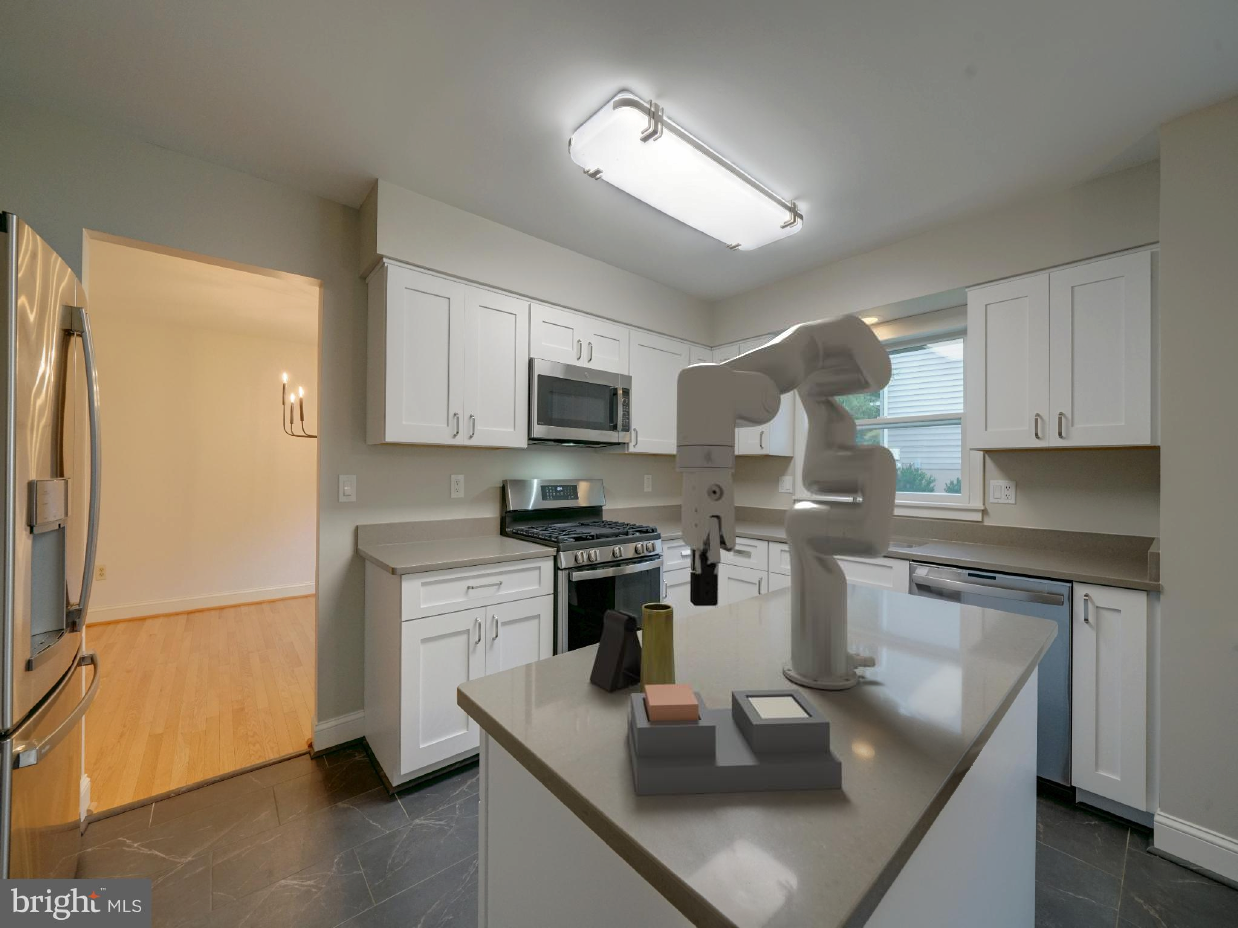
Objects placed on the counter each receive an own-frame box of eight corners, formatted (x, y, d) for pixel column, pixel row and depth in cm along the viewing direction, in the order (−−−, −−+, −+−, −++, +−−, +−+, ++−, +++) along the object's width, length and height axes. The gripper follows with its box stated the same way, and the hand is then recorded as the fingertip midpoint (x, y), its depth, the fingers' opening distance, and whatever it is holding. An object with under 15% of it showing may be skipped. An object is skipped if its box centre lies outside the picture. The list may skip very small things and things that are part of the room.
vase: (665, 703, 81) (665, 613, 81) (632, 694, 84) (632, 608, 85) (682, 689, 86) (681, 605, 86) (650, 681, 89) (650, 600, 90)
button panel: (793, 727, 73) (793, 682, 73) (841, 787, 59) (841, 731, 59) (627, 732, 72) (627, 686, 72) (636, 795, 58) (636, 737, 58)
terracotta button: (689, 706, 68) (689, 683, 69) (698, 728, 62) (698, 704, 63) (644, 707, 68) (644, 684, 68) (650, 729, 62) (650, 705, 62)
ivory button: (791, 718, 69) (790, 696, 69) (810, 742, 63) (810, 717, 63) (747, 720, 69) (747, 697, 69) (762, 743, 63) (762, 719, 63)
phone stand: (609, 693, 85) (609, 621, 85) (589, 681, 90) (589, 613, 90) (650, 680, 90) (650, 612, 90) (629, 669, 95) (629, 605, 95)
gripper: (753, 459, 59) (752, 620, 58) (717, 464, 74) (716, 591, 73) (689, 458, 58) (687, 620, 58) (666, 463, 73) (664, 591, 72)
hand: (703, 603), depth 65 cm, fingers closed
